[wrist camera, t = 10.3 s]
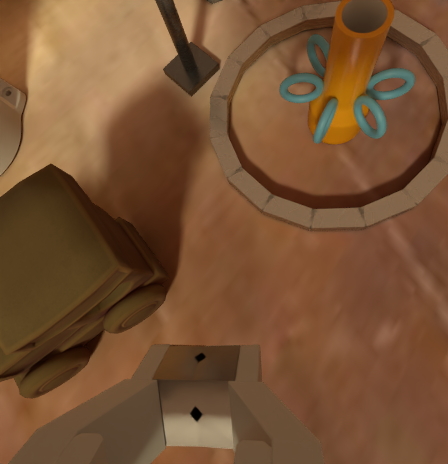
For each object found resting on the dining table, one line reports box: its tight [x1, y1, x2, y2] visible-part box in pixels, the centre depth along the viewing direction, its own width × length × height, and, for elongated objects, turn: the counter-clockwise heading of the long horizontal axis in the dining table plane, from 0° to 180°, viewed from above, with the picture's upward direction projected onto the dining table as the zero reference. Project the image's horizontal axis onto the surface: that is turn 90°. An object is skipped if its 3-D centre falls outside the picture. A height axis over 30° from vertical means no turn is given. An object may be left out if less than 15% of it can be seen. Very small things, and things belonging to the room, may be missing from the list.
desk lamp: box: [155, 0, 220, 97], centre depth 35 cm, size 6×5×18 cm
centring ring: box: [210, 1, 448, 231], centre depth 38 cm, size 27×27×2 cm
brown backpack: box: [0, 164, 169, 399], centre depth 32 cm, size 20×11×17 cm, turn 128°
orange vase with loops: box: [280, 0, 415, 145], centre depth 32 cm, size 12×10×15 cm
